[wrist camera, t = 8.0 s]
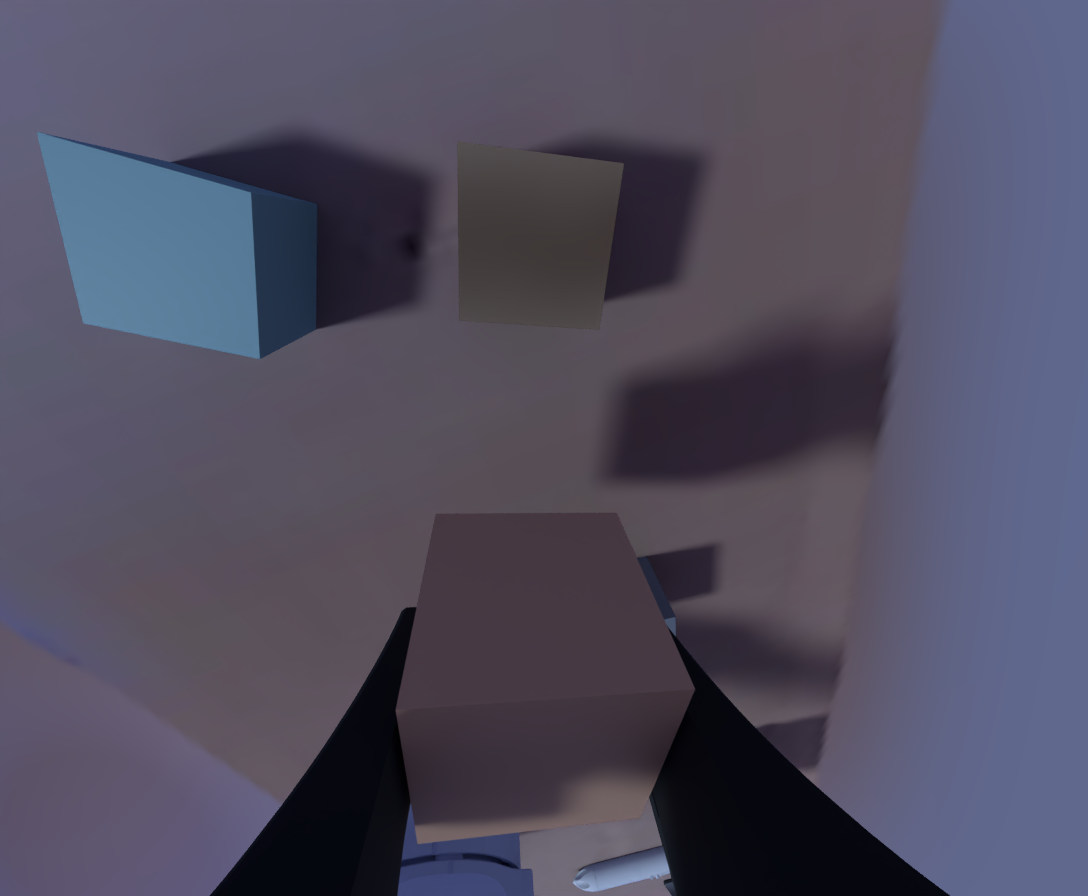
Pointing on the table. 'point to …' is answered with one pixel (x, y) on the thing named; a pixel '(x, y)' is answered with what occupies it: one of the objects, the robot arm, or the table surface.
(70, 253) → the dull teal block
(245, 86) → the table surface
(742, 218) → the table surface
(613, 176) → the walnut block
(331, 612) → the table surface
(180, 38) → the table surface
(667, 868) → the marker
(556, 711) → the terracotta block
